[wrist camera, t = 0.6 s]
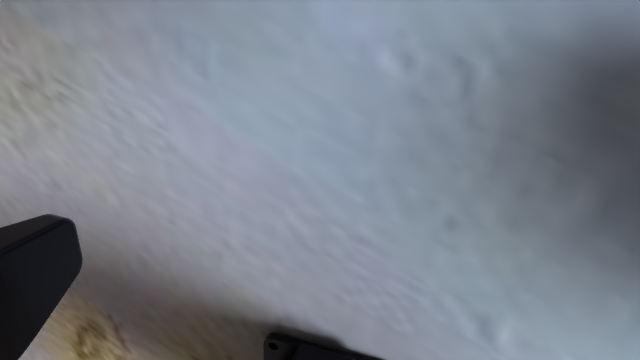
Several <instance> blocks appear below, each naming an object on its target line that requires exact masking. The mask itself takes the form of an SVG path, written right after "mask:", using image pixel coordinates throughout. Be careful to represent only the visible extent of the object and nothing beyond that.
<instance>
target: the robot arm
mask: <svg viewBox="0 0 640 360" xmlns="http://www.w3.org/2000/svg"><path fill="white" fill-rule="evenodd" d="M82 260H83V259H82V253H81V249H80V244H79V239H78V235H77V230H76V226H75V224H74V223H73V221H72V220H70V219H69V218H65V217H61V216H57V215H52V214H46V215H42V216H39V217H35V218H32V219H29V220H25V221H22V222H18V223H15V224H12V225H8V226H5V227H2V228H0V360H18V359H19V358H20V357H21V355H22V354H23V353H24V352H25V350H26V349H27V348H28V346H29V345H30V344H31V342H32V341H33V339H34V338H35V337H36V335H37V334H38V332H39V331H40V329H41V328H42V326H43V325H44V323H45V322H46V321H47V319H48V318H49V316H50V315H51V313H52V312H53V310H54V309H55V307H56V306H57V304H58V303H59V302H60V300H61V299H62V297H63V296H64V294H65V293H66V291H67V290H68V288H69V287H70V285H71V284H72V283H73V281H74V280H75V278H76V277H77V275H78V274H79V272H80V269H81V267H82ZM264 360H369V359H365V358H362V357H358V356H355V355H351V354H348V353H344V352H341V351H337V350H334V349H330V348H327V347H323V346H320V345H316V344H313V343H309V342H306V341H302V340H298V339H295V338H291V337H288V336H284V335H281V334H277V333H270V334H268V335H267V337H266V339H265V341H264Z"/></svg>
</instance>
